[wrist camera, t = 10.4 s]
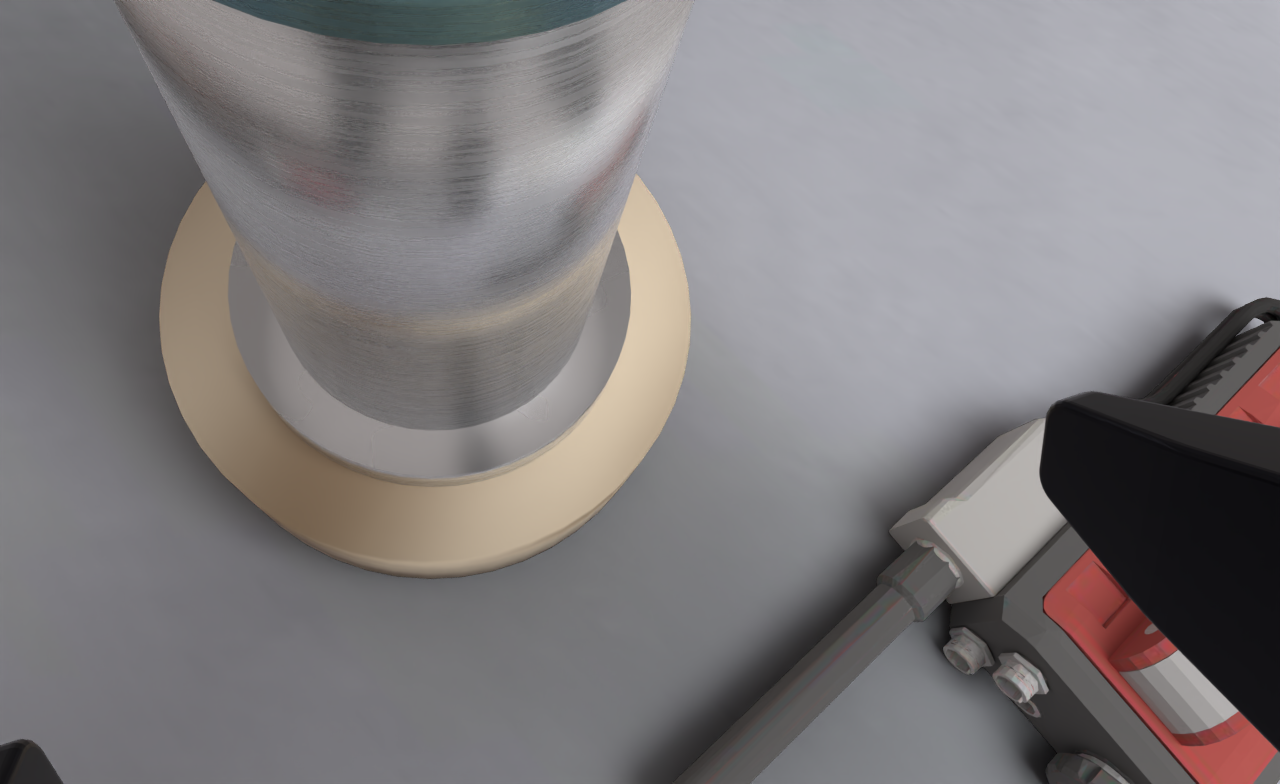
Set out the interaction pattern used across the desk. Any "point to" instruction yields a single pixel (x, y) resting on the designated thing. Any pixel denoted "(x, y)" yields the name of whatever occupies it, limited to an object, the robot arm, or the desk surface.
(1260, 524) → the robot arm
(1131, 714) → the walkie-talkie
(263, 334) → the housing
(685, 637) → the desk surface
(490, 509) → the stand
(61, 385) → the desk surface
